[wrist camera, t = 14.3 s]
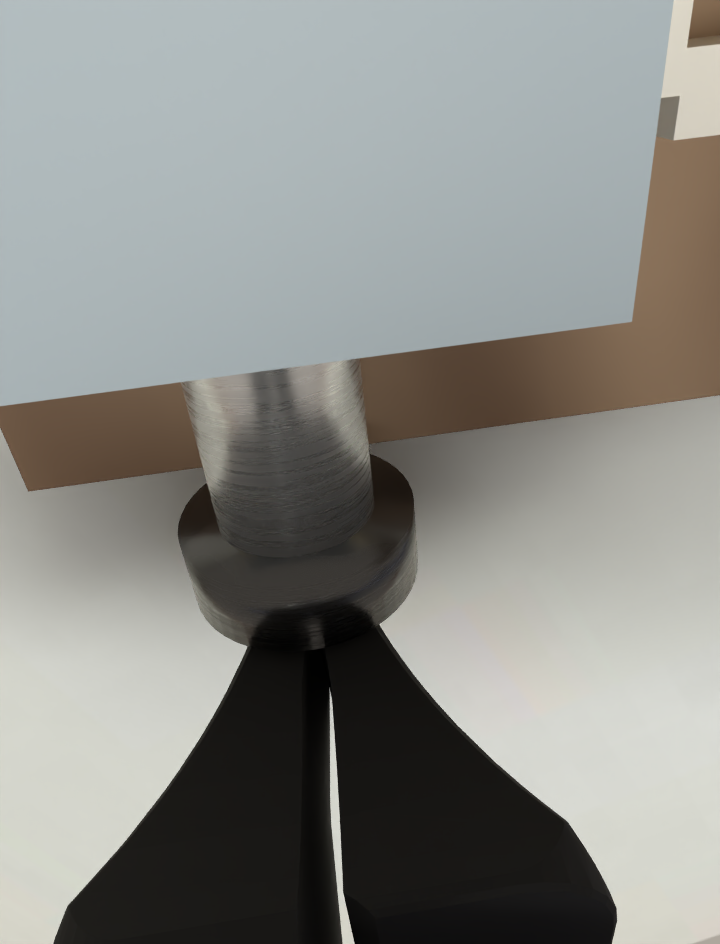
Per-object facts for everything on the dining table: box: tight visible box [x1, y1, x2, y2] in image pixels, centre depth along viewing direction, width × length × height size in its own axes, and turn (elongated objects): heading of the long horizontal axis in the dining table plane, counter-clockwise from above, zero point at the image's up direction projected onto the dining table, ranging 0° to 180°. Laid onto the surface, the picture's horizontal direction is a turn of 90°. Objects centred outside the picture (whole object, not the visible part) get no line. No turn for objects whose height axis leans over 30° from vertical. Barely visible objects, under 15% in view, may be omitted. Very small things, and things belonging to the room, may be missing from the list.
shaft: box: [178, 358, 418, 652], centre depth 7 cm, size 4×13×4 cm, turn 5°
